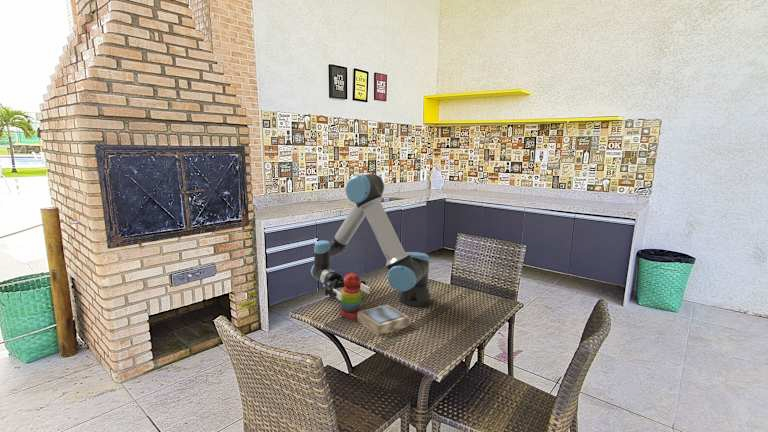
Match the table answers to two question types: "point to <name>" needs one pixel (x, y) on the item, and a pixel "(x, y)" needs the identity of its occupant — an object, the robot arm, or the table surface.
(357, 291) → the stacking bear
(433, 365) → the table surface
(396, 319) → the plinth
